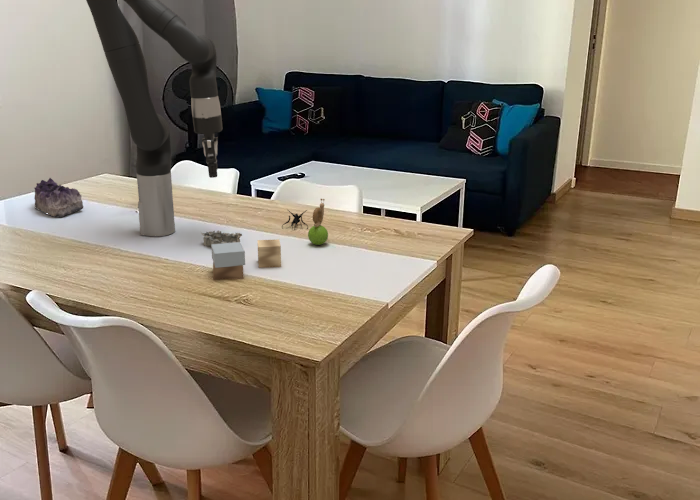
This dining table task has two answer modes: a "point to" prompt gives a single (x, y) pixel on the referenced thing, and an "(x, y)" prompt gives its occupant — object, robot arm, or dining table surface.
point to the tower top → (228, 254)
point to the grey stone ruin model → (220, 238)
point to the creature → (296, 220)
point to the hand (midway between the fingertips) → (213, 173)
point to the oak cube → (269, 253)
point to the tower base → (228, 272)
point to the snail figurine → (318, 227)
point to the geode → (57, 198)
